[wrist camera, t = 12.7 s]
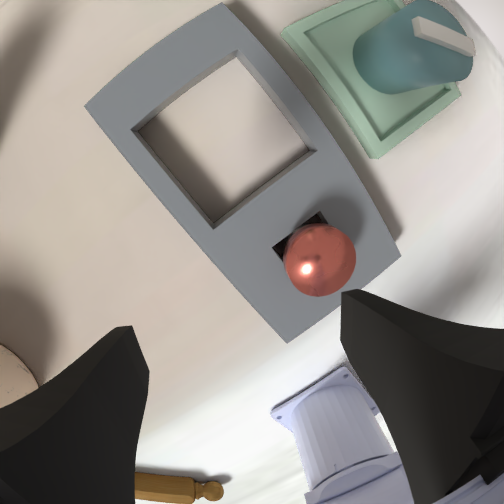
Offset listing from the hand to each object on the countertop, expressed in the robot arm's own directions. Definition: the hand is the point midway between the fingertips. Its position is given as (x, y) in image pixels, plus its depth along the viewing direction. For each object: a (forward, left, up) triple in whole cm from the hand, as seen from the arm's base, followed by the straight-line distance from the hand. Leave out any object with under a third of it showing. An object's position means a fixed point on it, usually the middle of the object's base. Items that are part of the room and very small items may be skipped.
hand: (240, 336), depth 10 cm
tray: (+4, -16, -10) cm, 19 cm away
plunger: (-3, -4, -10) cm, 11 cm away
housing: (+2, -4, -10) cm, 11 cm away
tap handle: (-13, +31, -10) cm, 35 cm away
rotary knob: (+4, -16, -9) cm, 19 cm away
